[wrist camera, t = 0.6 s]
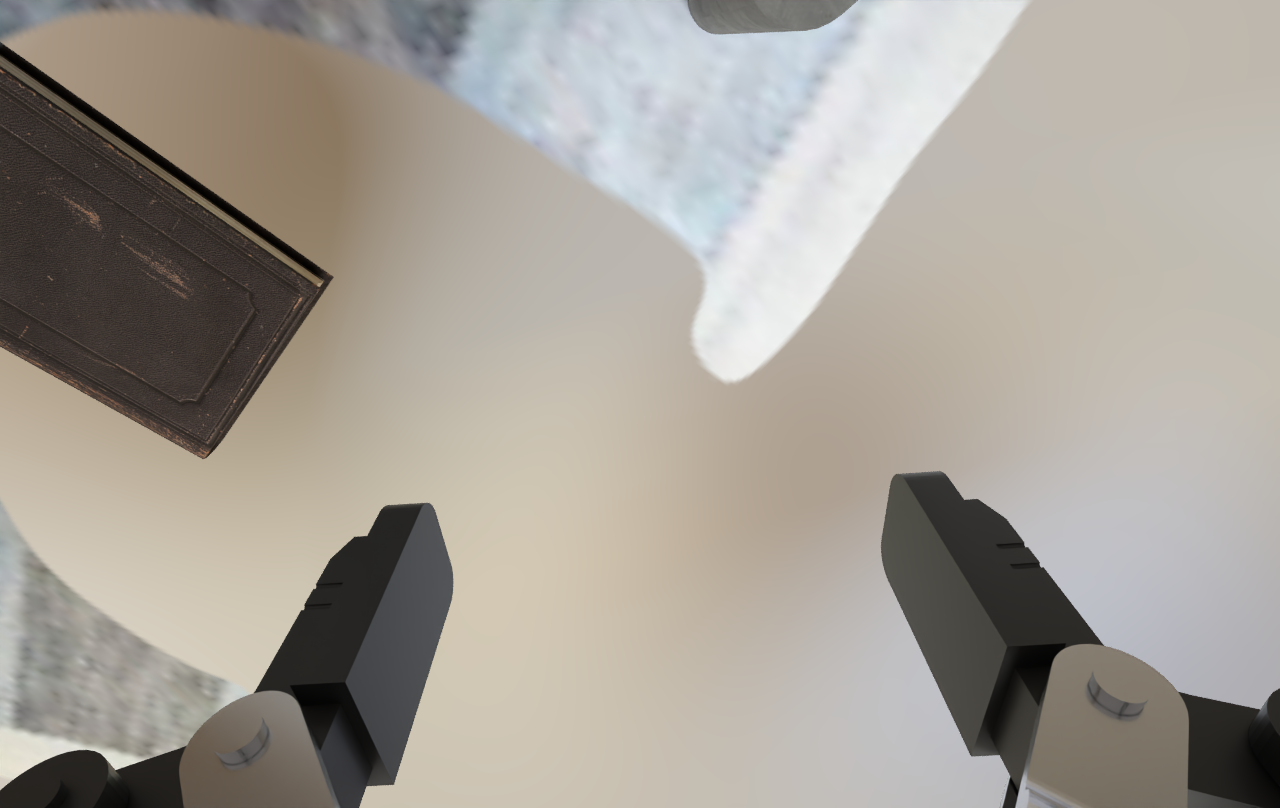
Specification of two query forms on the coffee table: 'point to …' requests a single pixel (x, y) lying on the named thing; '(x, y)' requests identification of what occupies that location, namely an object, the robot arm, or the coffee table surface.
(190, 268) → the hardcover book
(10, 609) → the coffee table surface
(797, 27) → the hip flask
